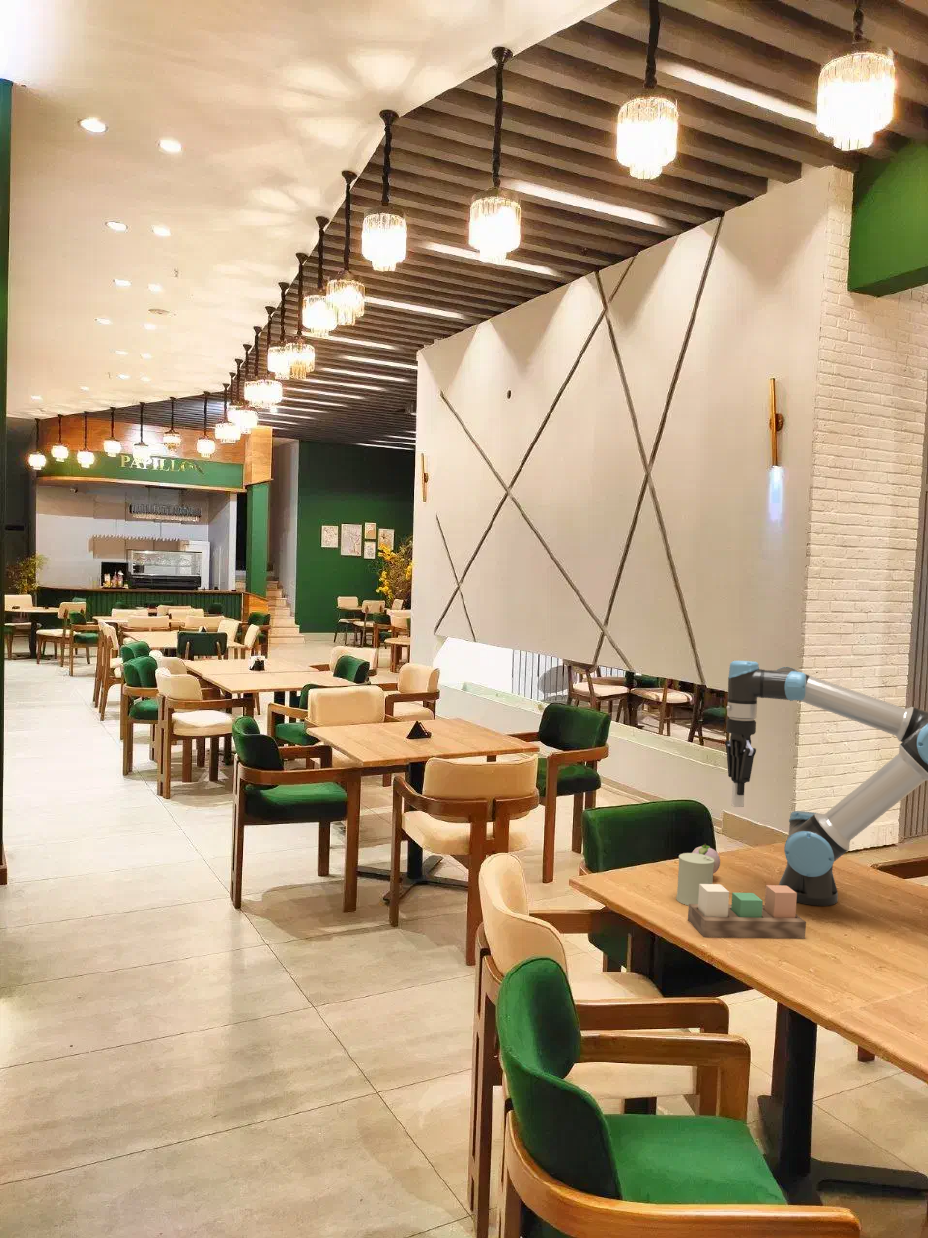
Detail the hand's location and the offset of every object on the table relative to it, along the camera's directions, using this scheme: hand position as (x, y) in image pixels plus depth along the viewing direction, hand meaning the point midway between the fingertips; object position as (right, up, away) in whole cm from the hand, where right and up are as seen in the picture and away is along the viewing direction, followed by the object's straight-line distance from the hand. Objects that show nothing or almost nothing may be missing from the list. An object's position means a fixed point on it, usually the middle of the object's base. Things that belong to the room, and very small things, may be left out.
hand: (737, 806), depth 236 cm
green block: (-5, -25, -21) cm, 33 cm away
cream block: (-13, -22, -22) cm, 34 cm away
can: (-12, -25, -3) cm, 28 cm away
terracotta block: (+4, -23, -20) cm, 31 cm away
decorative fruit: (-4, -25, +17) cm, 30 cm away
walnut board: (-5, -26, -21) cm, 33 cm away
